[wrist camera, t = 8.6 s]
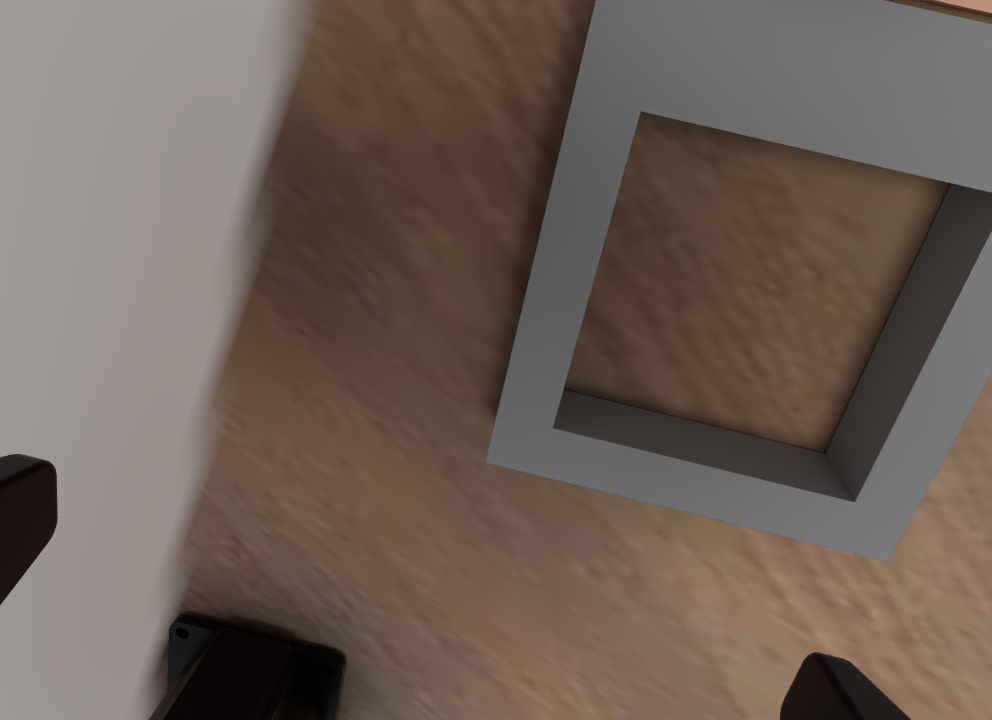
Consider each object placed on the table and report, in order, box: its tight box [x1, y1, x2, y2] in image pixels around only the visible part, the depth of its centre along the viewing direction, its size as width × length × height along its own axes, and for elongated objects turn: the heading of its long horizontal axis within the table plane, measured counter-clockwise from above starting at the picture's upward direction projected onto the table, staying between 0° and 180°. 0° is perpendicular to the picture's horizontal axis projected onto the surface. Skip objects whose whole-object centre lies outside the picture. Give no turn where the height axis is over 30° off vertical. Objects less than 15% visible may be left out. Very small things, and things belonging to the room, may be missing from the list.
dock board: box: [486, 0, 992, 562], centre depth 16 cm, size 22×11×2 cm, turn 168°
